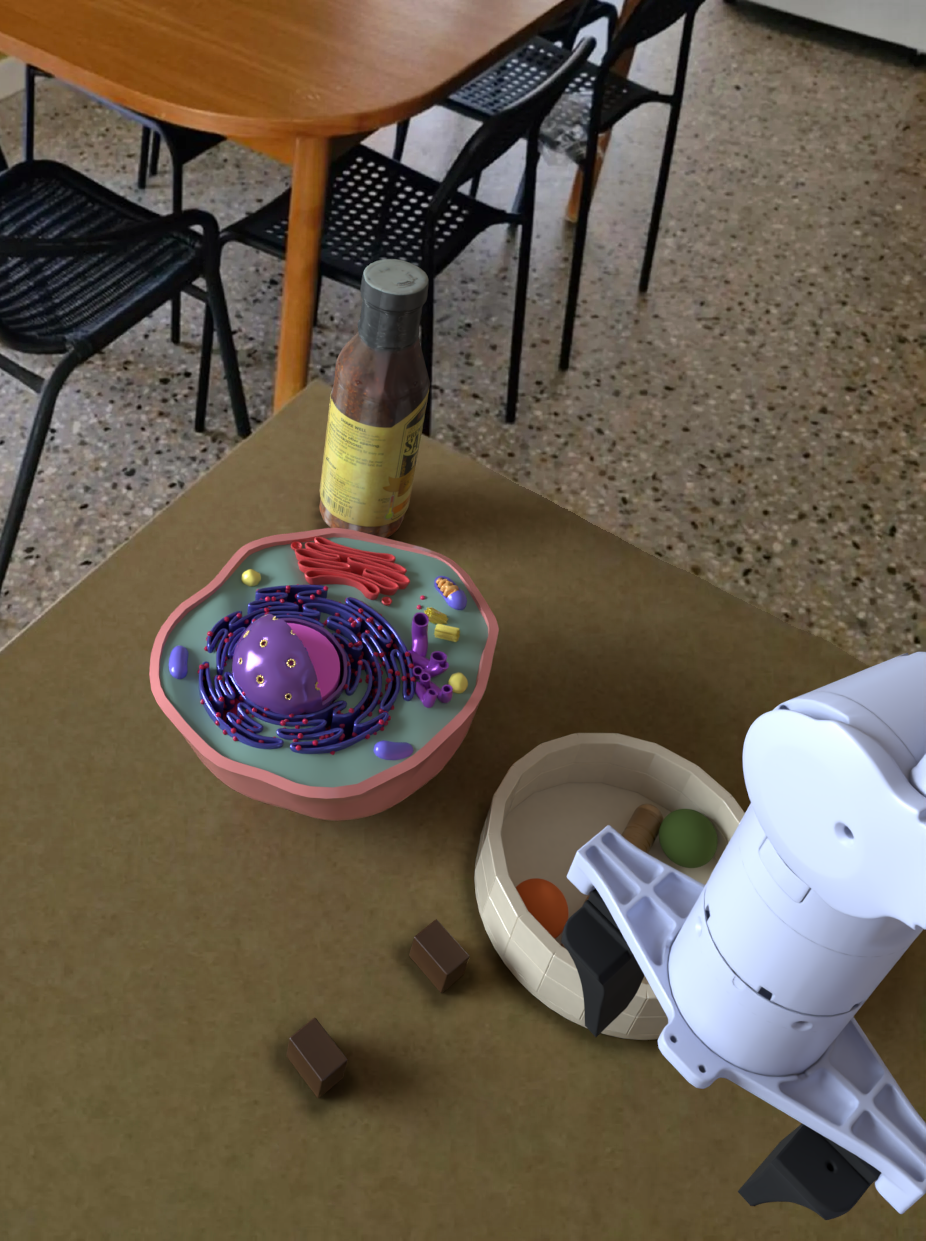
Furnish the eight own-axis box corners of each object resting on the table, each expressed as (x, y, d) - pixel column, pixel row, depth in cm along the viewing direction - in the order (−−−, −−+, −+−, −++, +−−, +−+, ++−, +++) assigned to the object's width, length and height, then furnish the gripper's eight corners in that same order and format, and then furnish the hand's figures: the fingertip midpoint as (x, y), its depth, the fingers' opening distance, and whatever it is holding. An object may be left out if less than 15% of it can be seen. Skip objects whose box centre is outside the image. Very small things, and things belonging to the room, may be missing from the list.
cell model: (542, 768, 72) (586, 644, 65) (247, 940, 63) (261, 817, 56) (372, 573, 83) (394, 448, 76) (99, 697, 74) (95, 568, 67)
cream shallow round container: (803, 926, 66) (832, 882, 63) (630, 1105, 59) (655, 1064, 56) (593, 736, 74) (611, 689, 71) (418, 871, 67) (431, 825, 64)
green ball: (704, 803, 66) (733, 858, 65) (694, 795, 69) (722, 847, 68) (652, 828, 66) (681, 883, 65) (644, 819, 69) (672, 871, 68)
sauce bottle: (408, 549, 85) (455, 315, 72) (317, 544, 85) (348, 308, 72) (402, 482, 90) (444, 252, 78) (315, 477, 90) (344, 246, 77)
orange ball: (588, 931, 63) (549, 935, 65) (569, 869, 64) (531, 875, 66) (545, 948, 61) (506, 951, 63) (526, 883, 62) (489, 889, 64)
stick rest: (430, 937, 64) (436, 918, 63) (463, 975, 63) (470, 956, 61) (285, 1056, 59) (288, 1037, 58) (317, 1100, 58) (322, 1082, 57)
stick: (590, 977, 61) (568, 952, 61) (568, 979, 63) (547, 955, 63) (673, 817, 69) (654, 795, 69) (653, 822, 70) (634, 800, 70)
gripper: (547, 832, 44) (480, 1007, 52) (931, 1213, 35) (776, 1348, 44) (671, 731, 47) (590, 910, 56) (1046, 1055, 39) (883, 1208, 47)
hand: (679, 1095), depth 50 cm, fingers open, 7 cm apart
